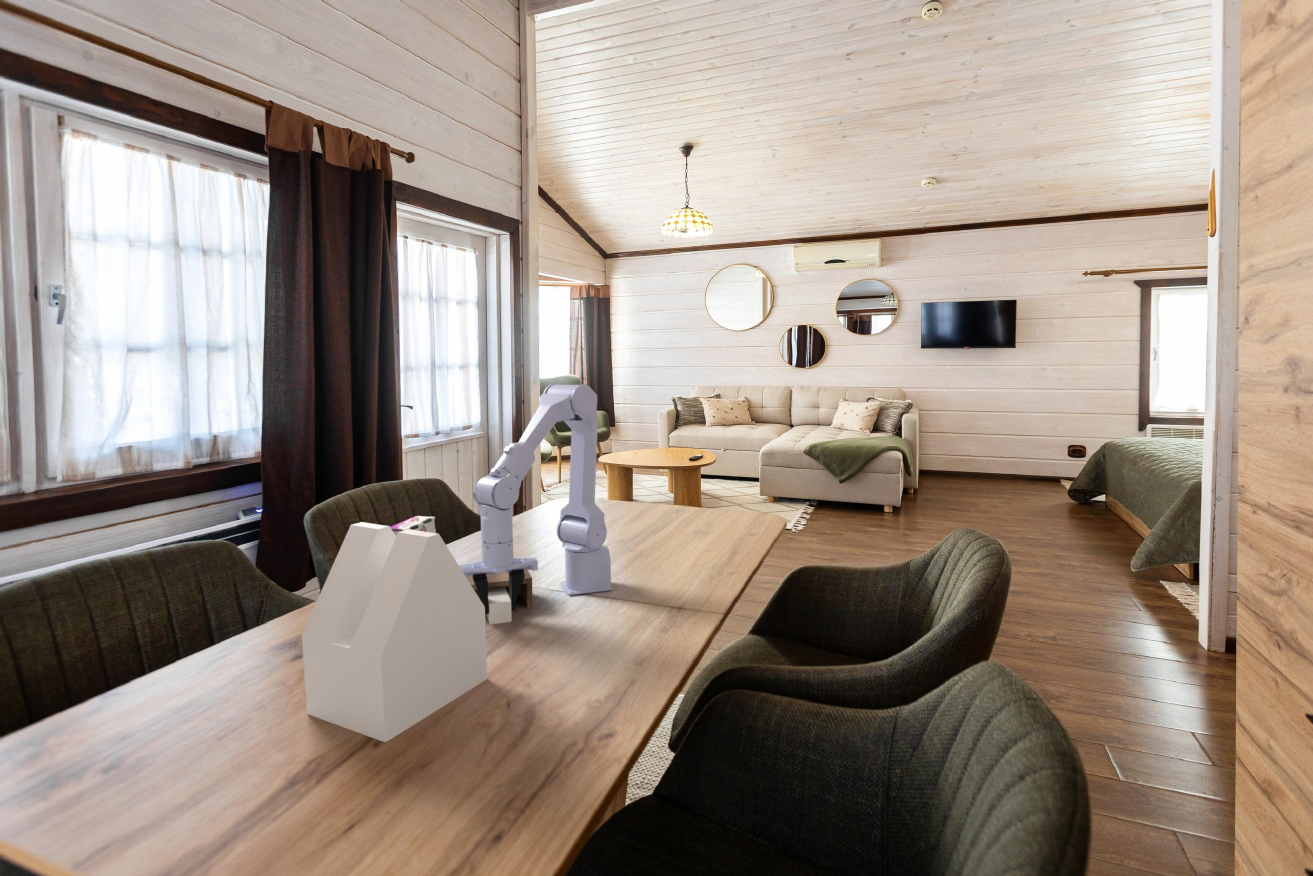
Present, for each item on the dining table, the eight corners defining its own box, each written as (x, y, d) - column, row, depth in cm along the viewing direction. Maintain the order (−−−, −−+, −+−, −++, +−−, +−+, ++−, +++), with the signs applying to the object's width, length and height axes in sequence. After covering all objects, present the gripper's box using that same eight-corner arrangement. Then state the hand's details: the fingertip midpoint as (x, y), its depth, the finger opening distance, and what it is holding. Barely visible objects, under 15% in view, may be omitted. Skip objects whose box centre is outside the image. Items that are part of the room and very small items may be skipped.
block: (505, 605, 133) (504, 586, 133) (511, 621, 125) (511, 601, 124) (484, 608, 132) (484, 588, 131) (489, 624, 123) (489, 603, 123)
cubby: (525, 592, 140) (524, 565, 140) (532, 607, 132) (532, 577, 131) (456, 601, 135) (455, 572, 135) (459, 616, 127) (458, 586, 126)
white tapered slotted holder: (414, 659, 109) (407, 510, 106) (487, 679, 102) (481, 520, 99) (307, 714, 92) (295, 538, 89) (385, 743, 85) (375, 553, 82)
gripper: (458, 549, 117) (460, 623, 119) (540, 541, 122) (541, 612, 124) (455, 539, 124) (458, 609, 125) (533, 532, 129) (535, 600, 130)
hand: (499, 610), depth 125 cm, fingers closed on block, 4 cm apart
